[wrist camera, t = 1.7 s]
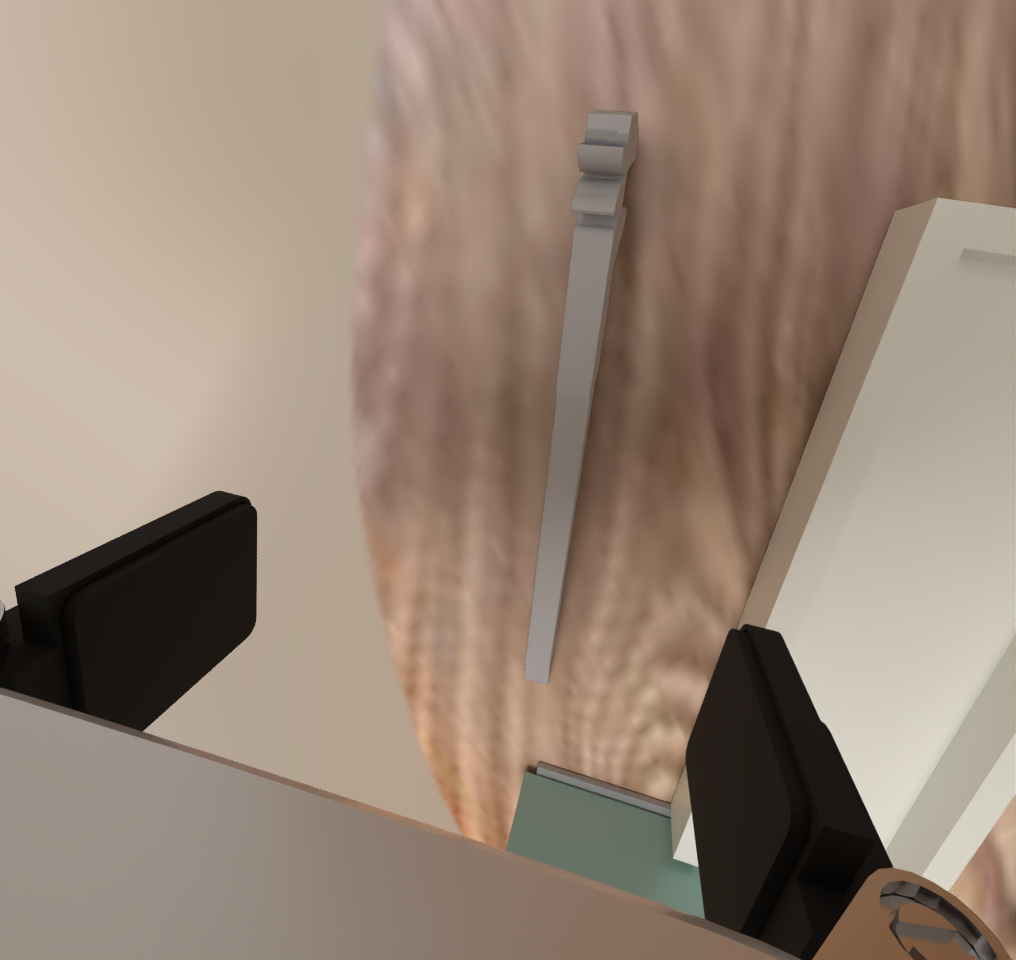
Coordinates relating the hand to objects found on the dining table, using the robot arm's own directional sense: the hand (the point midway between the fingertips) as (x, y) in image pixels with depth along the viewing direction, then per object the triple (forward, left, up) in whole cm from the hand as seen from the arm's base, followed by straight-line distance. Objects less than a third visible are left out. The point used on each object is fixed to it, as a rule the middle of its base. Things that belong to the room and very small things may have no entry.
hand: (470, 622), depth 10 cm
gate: (-6, +15, -10) cm, 19 cm away
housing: (-10, +4, -11) cm, 15 cm away
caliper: (-1, 0, -11) cm, 11 cm away
